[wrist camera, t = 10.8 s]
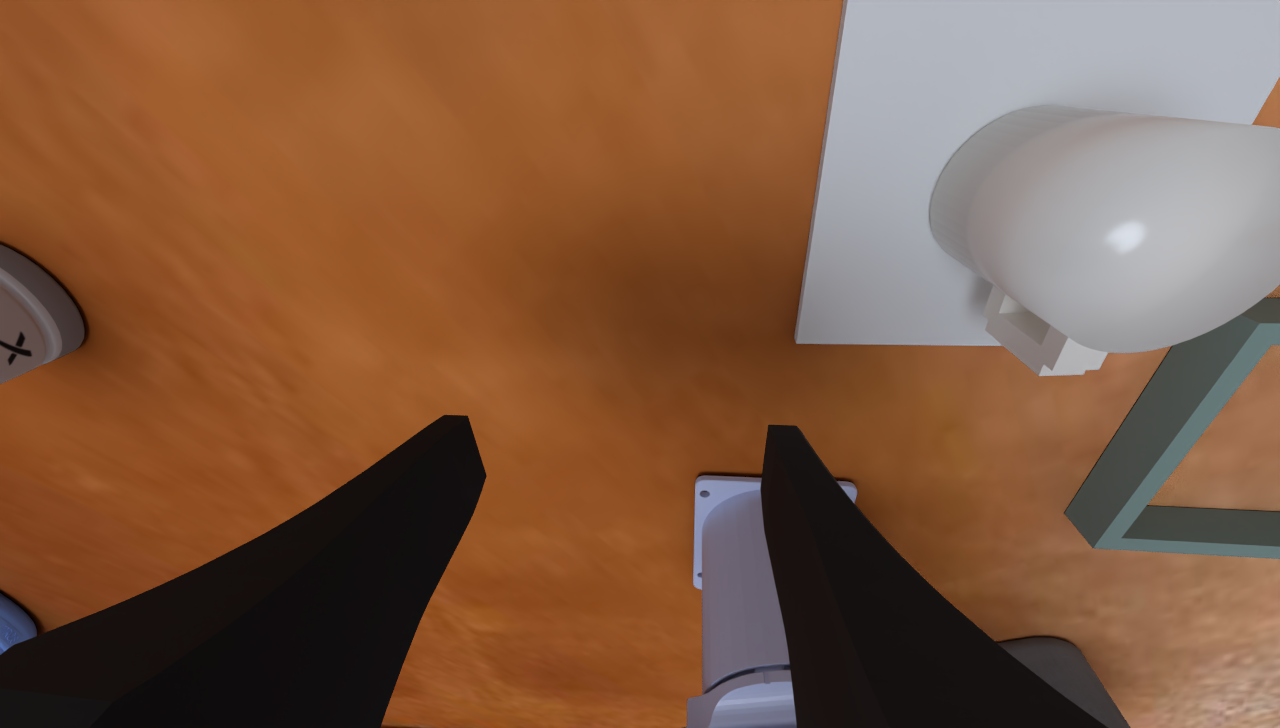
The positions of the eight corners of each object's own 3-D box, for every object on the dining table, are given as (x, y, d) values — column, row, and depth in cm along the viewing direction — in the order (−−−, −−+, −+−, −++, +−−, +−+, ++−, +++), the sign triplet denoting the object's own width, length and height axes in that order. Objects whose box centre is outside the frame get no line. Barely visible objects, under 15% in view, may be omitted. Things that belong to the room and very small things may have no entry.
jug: (953, 112, 14) (1109, 137, 9) (1134, 97, 14) (1407, 115, 9) (904, 309, 18) (996, 407, 13) (1047, 303, 17) (1202, 402, 12)
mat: (1112, 340, 18) (1121, 347, 18) (794, 337, 19) (796, 343, 19) (1346, -76, 12) (1371, -81, 11) (848, -35, 13) (853, -39, 13)
